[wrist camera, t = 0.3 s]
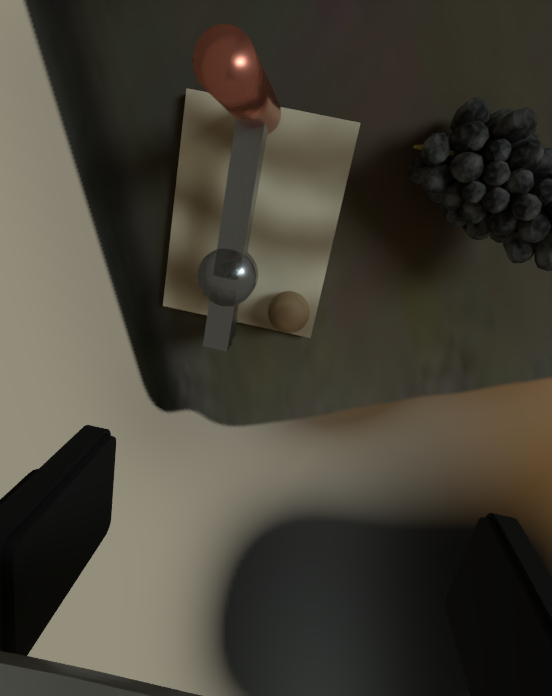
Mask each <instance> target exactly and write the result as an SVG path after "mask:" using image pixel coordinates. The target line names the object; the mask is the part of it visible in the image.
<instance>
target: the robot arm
mask: <svg viewBox="0 0 552 696" xmlns="http://www.w3.org/2000/svg"><path fill="white" fill-rule="evenodd" d="M115 451H116V438H115V437H113V436H111V433H110V431H109V430H108V429H104V428H99V427H94V426H90V425H86V426H84V427H83V428H82V429H81V430H80V431H79V432H78V433H77V434H75V435H74V436H73V437H72V438H71V439H70V440H69V441H68V442H67V443H66V444H65V445H64V446H63V447H62V448H61V449H60V450H58V451H57V452H56V453H55V455H53V456H52V457H51V458H50V459H49V460H48V461H47V462H46V463H45V464H44V465H43V466H42V467H40V468H39V469H36V470H33V471H32V472H30V473H29V474H28V475H27V476H25V477H24V478H23V479H22V480H21V481H20V482H19V483H18V484H17V485H16V486H15V487H14V488H13V489H12V490H11V491H9V492H8V493H7V494H6V495H5V496H4V497H3V498H2V499H1V500H0V696H201V695H197V694H192V693H188V692H183V691H179V690H175V689H171V688H167V687H162V686H158V685H154V684H150V683H145V682H141V681H137V680H132V679H128V678H124V677H120V676H115V675H111V674H107V673H103V672H98V671H94V670H89V669H85V668H80V667H76V666H70V665H66V664H61V663H57V662H51V661H47V660H43V659H38V658H33V657H29V656H27V655H28V653H29V652H30V650H31V649H32V647H33V646H34V644H35V643H36V641H37V639H38V638H39V637H40V635H41V633H42V632H43V630H44V629H45V627H46V626H47V624H48V623H49V621H50V620H51V618H52V616H53V615H54V613H55V612H56V611H57V609H58V607H59V606H60V604H61V603H62V601H63V599H64V598H65V597H66V595H67V593H68V592H69V591H70V589H71V587H72V586H73V584H74V583H75V581H76V580H77V578H78V577H79V575H80V574H81V572H82V571H83V569H84V567H85V566H86V564H87V563H88V561H89V560H90V558H91V557H92V555H93V554H94V552H95V551H96V549H97V548H98V546H99V545H100V543H101V541H102V540H103V538H104V537H105V535H106V534H107V531H108V529H109V526H110V522H111V511H112V496H113V481H114V466H115ZM445 608H446V614H447V618H448V621H449V624H450V627H451V631H452V635H453V638H454V641H455V645H456V648H457V651H458V655H459V658H460V661H461V665H462V668H463V671H464V675H465V678H466V682H467V685H468V688H469V692H470V695H471V696H552V577H551V576H550V573H549V572H548V570H547V569H546V567H545V565H544V563H543V562H542V560H541V558H540V557H539V555H538V554H537V552H536V550H535V549H534V547H533V545H532V544H531V542H530V540H529V539H528V537H527V535H526V534H525V532H524V530H523V529H522V527H521V525H520V524H519V522H518V521H517V520H516V519H515V518H512V517H507V516H502V515H498V514H493V513H489V514H488V515H487V516H486V518H484V517H482V518H480V519H479V520H478V522H477V525H476V527H475V529H474V532H473V534H472V536H471V539H470V541H469V544H468V546H467V548H466V551H465V553H464V555H463V558H462V560H461V563H460V565H459V568H458V570H457V572H456V575H455V577H454V579H453V582H452V584H451V586H450V589H449V591H448V594H447V596H446V601H445Z"/></svg>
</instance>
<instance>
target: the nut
mask: <svg viewBox="0 0 552 696" xmlns="http://www.w3.org/2000/svg"><path fill="white" fill-rule="evenodd" d="M309 314H310V311H309V305H308V303H307V301H306V300H305V298H304V297H303V296H301V295H300V294H298V293H296V292H292V291H286V292H282V293H279V294H277V295H276V296H275V297H274V298H273V299H272V300H271V302H270V304H269V307H268V318H269V320H270V323H271V324H272V325H273V327H274V328H276V329H277V330H278V331H281V332H284V333H294V332H297V331H299V330H300V329H302V328H303V327H304V326H305V325H306V323H307V321H308V319H309Z"/></svg>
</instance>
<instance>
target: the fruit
mask: <svg viewBox="0 0 552 696" xmlns="http://www.w3.org/2000/svg"><path fill="white" fill-rule="evenodd" d="M536 125H537V117H536V114H535V112H534V111H533V110H532V109H530V108H523V109H519V110H515V111H513V110H511V109H501V110H499V111H497V112H495V113H493V114H492V115H491V114H490V110H489V105H488V103H487V102H485V101H484V100H483V99H481V98H472V99H470V100H468V101H467V102H466V103H465V104H464V105H462V106H461V107H460V108H459V109H458V110H457V112H456V113H455V115H454V117H453V119H452V122H451V125H450V128H451V130H452V132H453V133H452V134H451V135H450V134H445V133H433V134H432V135H431V136H430V137H428V138H427V139H426V140H425V141H424V144H421V145H414V146H413V149H418V150H422V151H421V154H420V156H419V157H418V158H417V159H416V160H415V161H414V162H413V163H412V164H411V165H410V171H409V176H410V178H411V180H412V181H413V182H414V183H416V184H421V185H422V187H423V189H424V191H425V192H426V193H427V195H428V197H429V199H430V200H431V201H433V202H435V203H440V204H441V207H440V208H441V213H442V214H444V215H445V216H446V218H447V222H448V223H449V224H450V225H451V226H452V227H460V226H462V227H463V229H464V231H465V232H467V233H468V235H469V237H471V238H473V239H476V240H482V239H486V238H487V237H488V236H489V235H490V237H491V239H493V240H494V241H496V242H499V243H504V244H503V246H504V248H505V251H506V253H507V256H508V259H509V260H511V261H512V262H513V263H523V262H525V261H527V260H529V259H531V258H532V256H533V254H534V255H535V263H536V265H537V267H538V268H540V269H543V270H547V271H550V270H552V149H550V148H546V149H544V147H543V144H542V143H541V142H539V137H538V135H537V133H536V132H535V128H536ZM449 161H451V162H450V163H449ZM477 179H478V180H477Z"/></svg>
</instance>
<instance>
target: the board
mask: <svg viewBox="0 0 552 696" xmlns="http://www.w3.org/2000/svg"><path fill="white" fill-rule="evenodd" d="M280 108H281V119H280V122H279V124H278V126H277V128H276V129H275V130H274V131H273V132H272V133H270V134H268V135H267V139H266V145H265V151H264V157H263V163H262V169H261V175H260V181H259V187H258V193H257V198H256V204H255V210H254V216H253V222H252V228H251V234H250V240H249V246H248V253H249V254H250V255H251V256H252V258H253V259H254V261H255V263H256V265H257V268H258V281H257V284H256V287H255V289H254V290H253V291H252V293H251V294H250V295H249V297H248V298H247V299H246V300H245V301H243V302H242V303H240V304H239V305H238V311H237V317H236V318H238V322H239V323H244V324H248V325H253V326H258V327H262V328H267V329H271V330H276V331H278V330H277V329H276V328H274V327H273V325H272V324H271V323H270V320H269V318H268V307H269V304H270V302H271V300H272V299H273V298H274V297H275V296H276V295H277V294H279V293H282V292H286V291H292V292H296V293H298V294H300V295H301V296H303V297H304V298H305V300H306V301H307V303H308V305H309V311H310V314H309V319H308V321H307V323H306V325H305V326H304V327H303V328H302V329H300V330H299V331H297V332H294V333H290V334H294V335H299V336H304V337H308V338H311V334H312V329H313V325H314V321H315V316H316V312H317V308H318V304H319V299H320V295H321V291H322V286H323V282H324V278H325V273H326V269H327V265H328V261H329V256H330V252H331V248H332V243H333V239H334V235H335V230H336V226H337V222H338V218H339V213H340V209H341V205H342V200H343V196H344V192H345V187H346V183H347V179H348V175H349V170H350V166H351V162H352V157H353V153H354V149H355V144H356V140H357V136H358V132H359V127H360V123H358V122H353V121H348V120H343V119H338V118H333V117H328V116H323V115H318V114H313V113H308V112H303V111H298V110H293V109H288V108H283V107H280ZM235 121H236V118H235V117H234V116H233V115H232V114H231V113H230V112H228V111H227V110H226V109H225V108H224V107H223V106H222V105H221V104H220V103H219V102H218V101H217V100H216V99H215V98H214V97H213V96H212V95H211V94H210V93H207V92H202V91H197V90H192V89H186V98H185V107H184V116H183V125H182V134H181V144H180V153H179V162H178V171H177V180H176V189H175V199H174V208H173V217H172V226H171V235H170V244H169V254H168V263H167V272H166V281H165V290H164V299H163V306H166V307H170V308H175V309H179V310H184V311H189V312H193V313H198V314H202V315H207V314H208V307H209V299H208V298H207V297H206V296H205V295H204V294H203V292H202V291H201V289H200V287H199V284H198V268H199V266H200V263H201V261H202V260H203V259H204V257H205V256H206V255H208V254H209V253H210V252H212V251H214V250H217V245H218V238H219V231H220V224H221V218H222V211H223V204H224V197H225V190H226V183H227V176H228V170H229V163H230V156H231V149H232V142H233V135H234V128H235Z"/></svg>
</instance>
